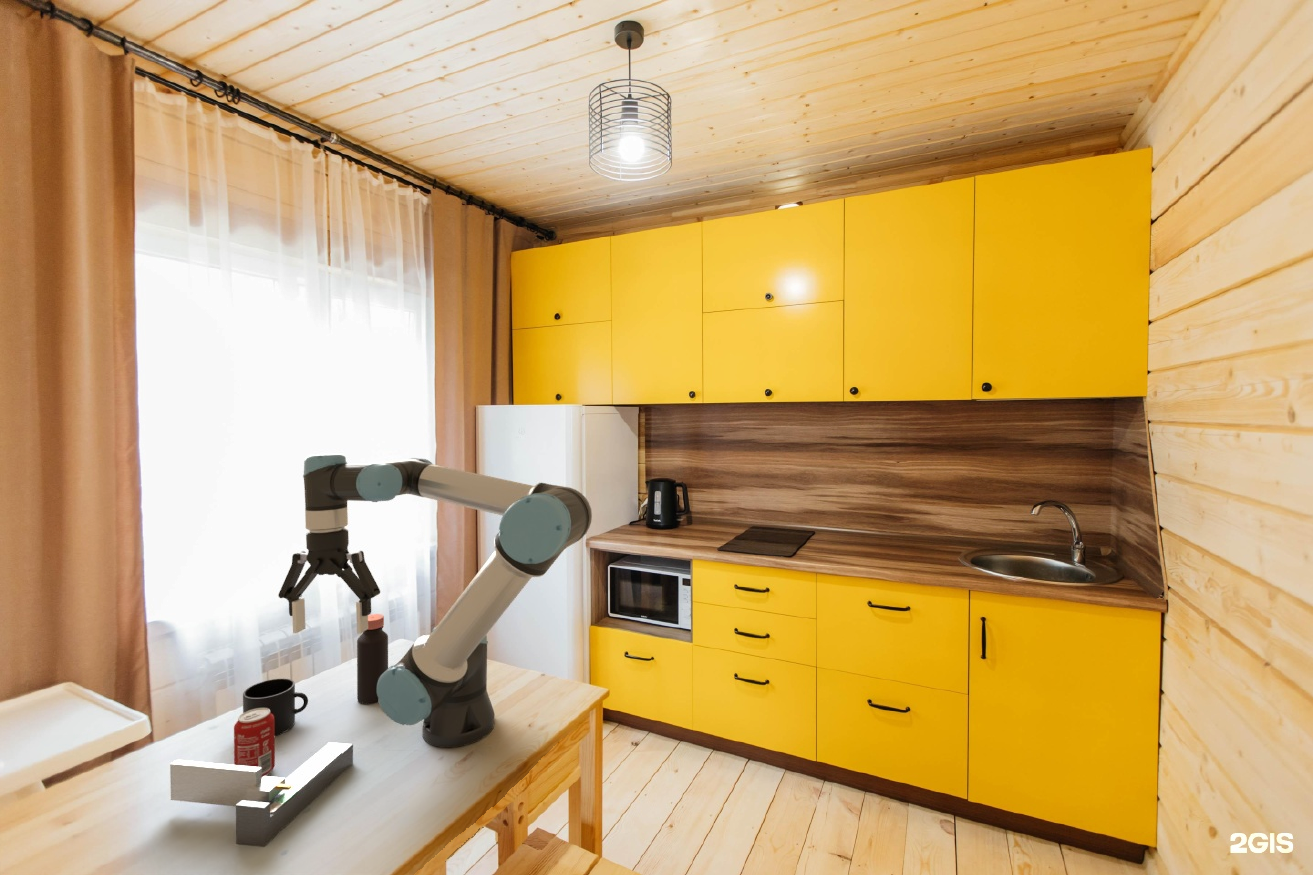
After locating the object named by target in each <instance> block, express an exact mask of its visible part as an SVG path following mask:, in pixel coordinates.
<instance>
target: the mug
mask: <svg viewBox="0 0 1313 875" xmlns="http://www.w3.org/2000/svg"><path fill="white" fill-rule="evenodd" d="M295 685H296V683H295V681H294V680H293V679H290V678H272V679H268V680H264V681H260V682H258V683H255V684H253V685H251V686H249V687H247V688H246V689H245V690H244V692H243V693H242V714H243V713H244V712H247V711H249V710H252V709H256V708H268V709H270V713H271V714H273V715H274V730H275V736H279V735H282V734H284V733H285V732H287V731H288V730H290V729H292V727H293V726H294V725H295V722H296V715H297V714H299V713H301V712H303V710H305V709H306V707H307V706H308V704H309V698H308V696H307V695H306V694H305V693H303V692H295V691H296V689H295V688H296V686H295ZM296 698H301V699H302V700H303V704H302V706H301V707H299V708H296Z"/></svg>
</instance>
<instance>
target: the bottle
mask: <svg viewBox="0 0 1313 875" xmlns="http://www.w3.org/2000/svg"><path fill="white" fill-rule="evenodd" d="M384 625H385V616H384V615H383V614H380V613H373V614H369V615H368V629H367V630H365V631H364V632H362V633H361V634H360V635H359V637H358V638H357V639H356V657H357V658H356V672H357V673H356V681H357V682H356V683H357V684H356V685H357V686H356V689H357V691H356V693H357V694H356V696H357V697H356V698H357V702H358V703H360V704H363V705H373V704H377V703H379V701H378V699H379V698H378V696H377V683H378V680H379V678H380V676H381V675H382V674H383V673H384V672H385V671H386V670H387V669H388V668H389V636H388V633H387V632H385V631H384V630H383V628H384Z"/></svg>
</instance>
